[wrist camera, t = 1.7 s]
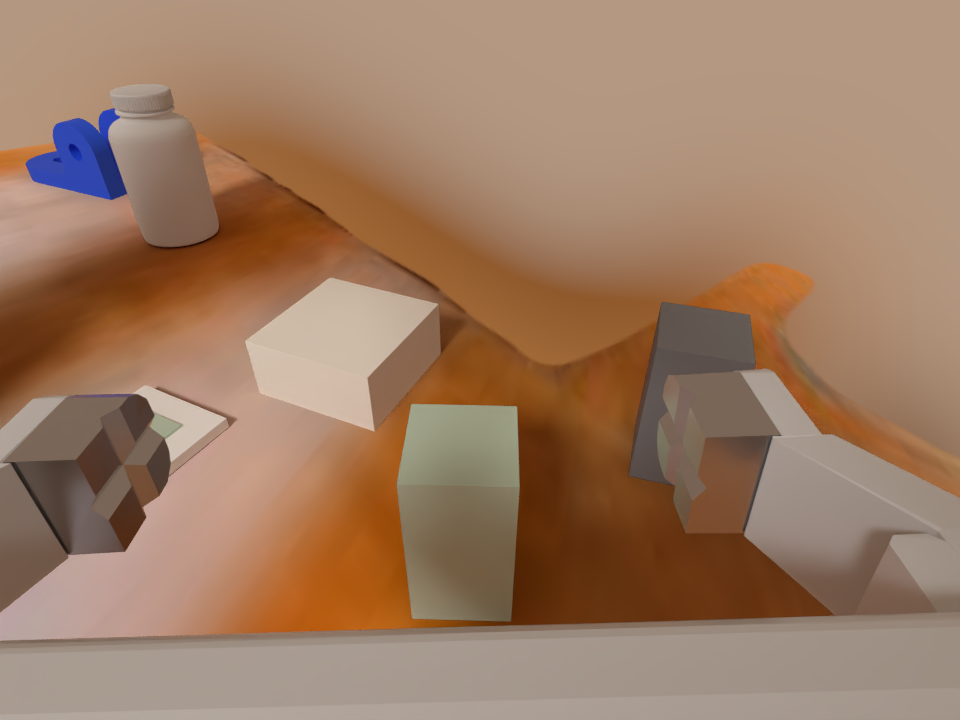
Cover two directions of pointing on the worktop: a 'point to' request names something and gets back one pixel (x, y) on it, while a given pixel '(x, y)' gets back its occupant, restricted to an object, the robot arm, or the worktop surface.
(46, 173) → the bracket
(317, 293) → the cream base block
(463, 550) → the sage block
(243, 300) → the worktop surface
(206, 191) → the pill bottle
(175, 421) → the tile
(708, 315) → the charcoal block
